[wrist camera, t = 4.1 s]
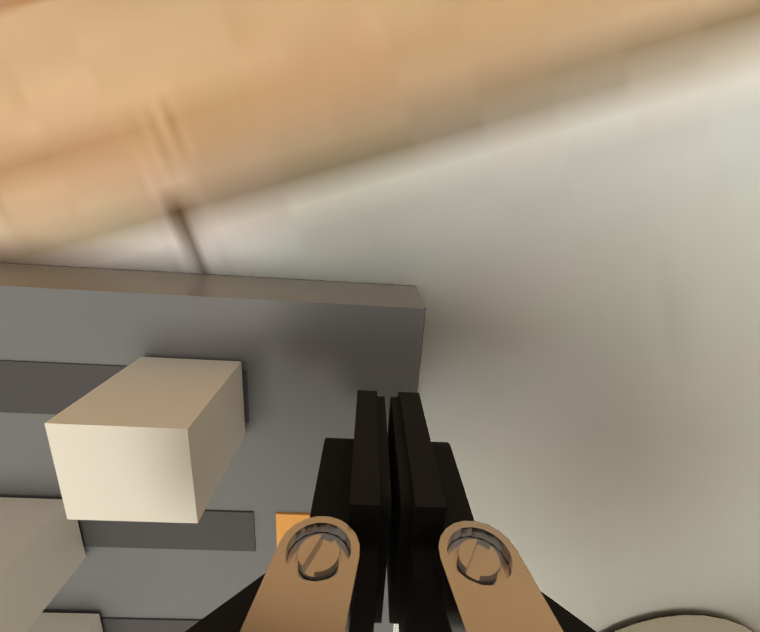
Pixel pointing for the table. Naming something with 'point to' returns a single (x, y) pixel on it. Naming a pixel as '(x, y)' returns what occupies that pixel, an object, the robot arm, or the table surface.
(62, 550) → the tab middle
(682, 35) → the table surface
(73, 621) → the tab far
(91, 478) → the tab near
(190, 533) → the switch bank
